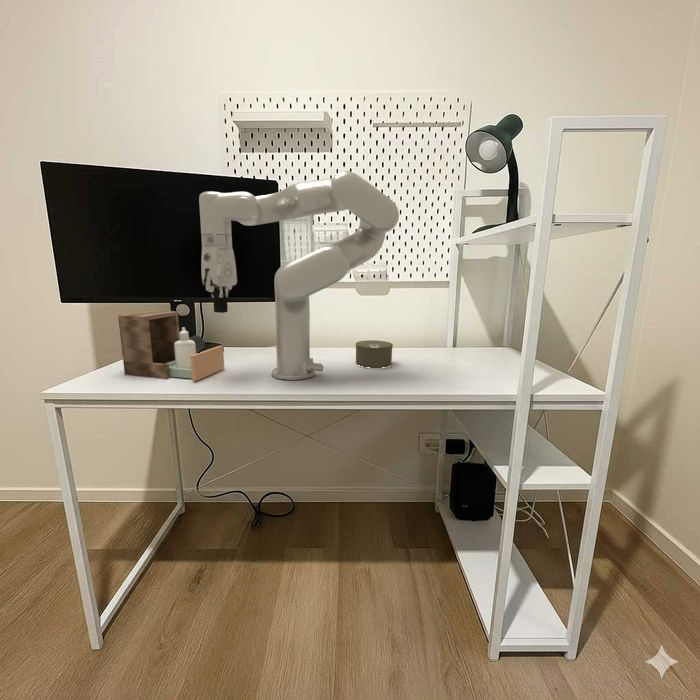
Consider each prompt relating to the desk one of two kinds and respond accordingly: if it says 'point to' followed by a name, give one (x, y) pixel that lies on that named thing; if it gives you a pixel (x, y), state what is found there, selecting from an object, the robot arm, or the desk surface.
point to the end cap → (197, 342)
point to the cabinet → (148, 342)
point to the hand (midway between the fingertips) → (220, 312)
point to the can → (374, 353)
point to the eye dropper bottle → (184, 350)
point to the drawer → (200, 364)
